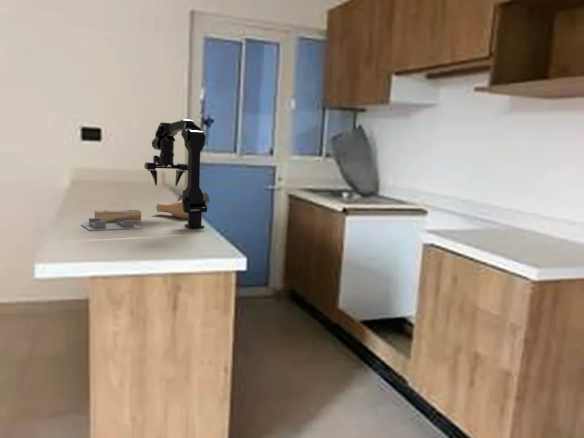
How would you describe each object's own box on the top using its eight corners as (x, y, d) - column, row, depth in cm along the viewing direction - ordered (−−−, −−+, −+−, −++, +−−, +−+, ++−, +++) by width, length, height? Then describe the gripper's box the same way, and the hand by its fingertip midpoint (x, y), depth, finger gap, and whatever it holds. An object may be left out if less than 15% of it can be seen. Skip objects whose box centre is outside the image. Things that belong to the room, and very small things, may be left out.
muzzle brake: (209, 210, 283) (210, 190, 281) (194, 217, 255) (195, 195, 253) (191, 209, 283) (192, 189, 282) (174, 216, 256) (175, 194, 254)
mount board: (141, 228, 217) (141, 221, 216) (89, 230, 205) (89, 223, 205) (131, 223, 227) (131, 216, 227) (81, 225, 216) (81, 217, 216)
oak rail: (140, 223, 232) (141, 210, 231) (97, 224, 222) (97, 211, 221) (137, 221, 236) (138, 209, 235) (94, 222, 226) (94, 210, 225)
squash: (192, 221, 243) (193, 201, 242) (151, 217, 247) (151, 197, 246) (201, 218, 253) (202, 199, 252) (162, 214, 258) (163, 195, 257)
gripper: (181, 151, 257) (180, 184, 259) (141, 149, 248) (141, 183, 250) (189, 152, 247) (188, 186, 249) (147, 150, 238) (147, 186, 240)
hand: (166, 185), depth 247 cm, fingers open, 9 cm apart
